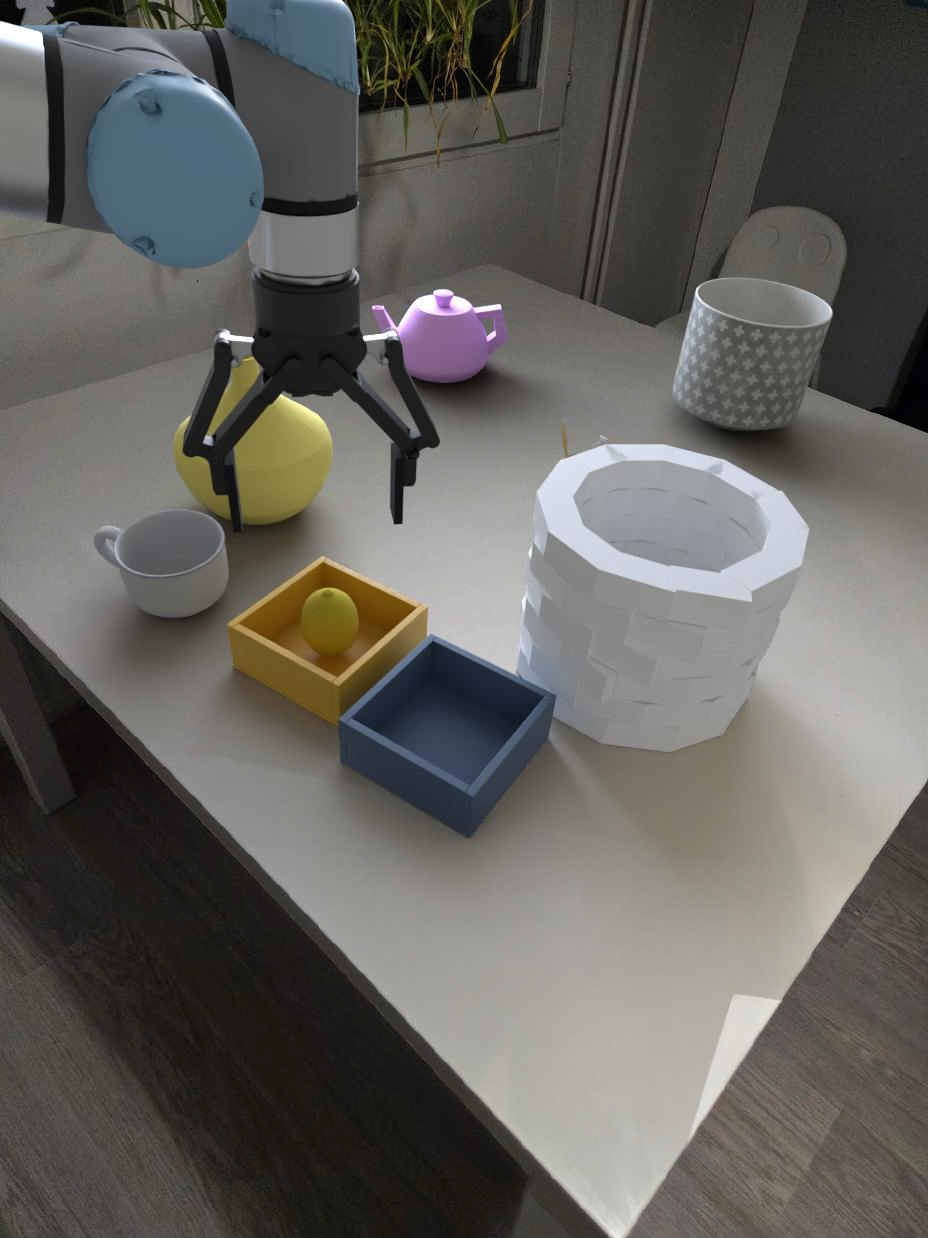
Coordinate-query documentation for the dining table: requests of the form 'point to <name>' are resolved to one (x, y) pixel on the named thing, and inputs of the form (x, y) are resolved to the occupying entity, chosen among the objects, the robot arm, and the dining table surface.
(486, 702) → the blue bin
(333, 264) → the robot arm
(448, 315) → the teapot
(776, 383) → the planter
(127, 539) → the teacup
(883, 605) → the dining table surface
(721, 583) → the white brick well
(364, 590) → the yellow bin
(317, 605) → the lemon
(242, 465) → the vase
